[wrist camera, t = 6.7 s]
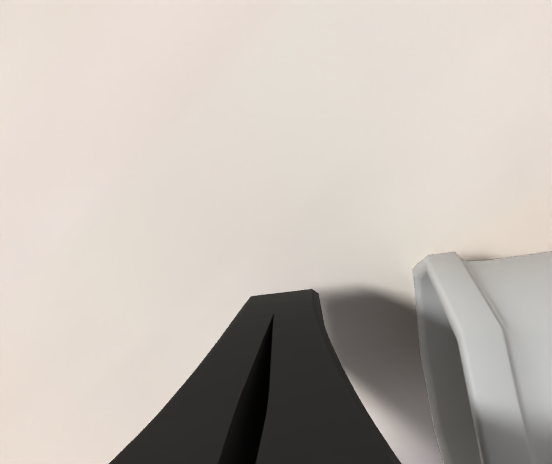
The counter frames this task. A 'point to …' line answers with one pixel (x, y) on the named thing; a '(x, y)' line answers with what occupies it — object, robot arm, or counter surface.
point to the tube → (487, 356)
